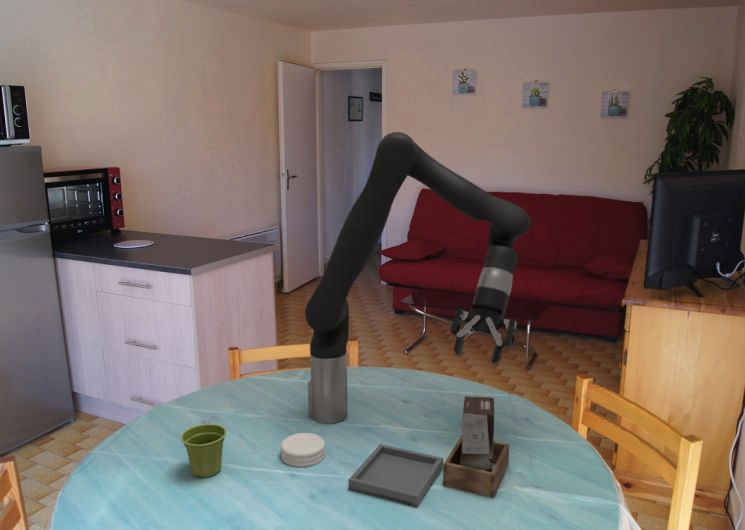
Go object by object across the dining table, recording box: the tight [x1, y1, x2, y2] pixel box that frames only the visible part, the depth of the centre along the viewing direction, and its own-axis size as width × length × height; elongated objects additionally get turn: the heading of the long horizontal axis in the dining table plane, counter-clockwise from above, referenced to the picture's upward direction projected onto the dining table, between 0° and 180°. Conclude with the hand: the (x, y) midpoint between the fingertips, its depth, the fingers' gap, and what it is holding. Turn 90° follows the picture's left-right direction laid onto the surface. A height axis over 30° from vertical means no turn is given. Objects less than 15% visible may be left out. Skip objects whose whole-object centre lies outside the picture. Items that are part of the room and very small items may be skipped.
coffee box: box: [460, 395, 495, 472], centre depth 128 cm, size 9×6×16 cm
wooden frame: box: [442, 435, 510, 499], centre depth 129 cm, size 11×14×5 cm
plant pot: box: [180, 423, 227, 479], centre depth 131 cm, size 9×9×9 cm
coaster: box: [280, 432, 326, 468], centre depth 138 cm, size 10×10×4 cm
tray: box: [348, 443, 444, 508], centre depth 129 cm, size 15×16×2 cm
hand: (475, 359), depth 135 cm, fingers open, 8 cm apart
